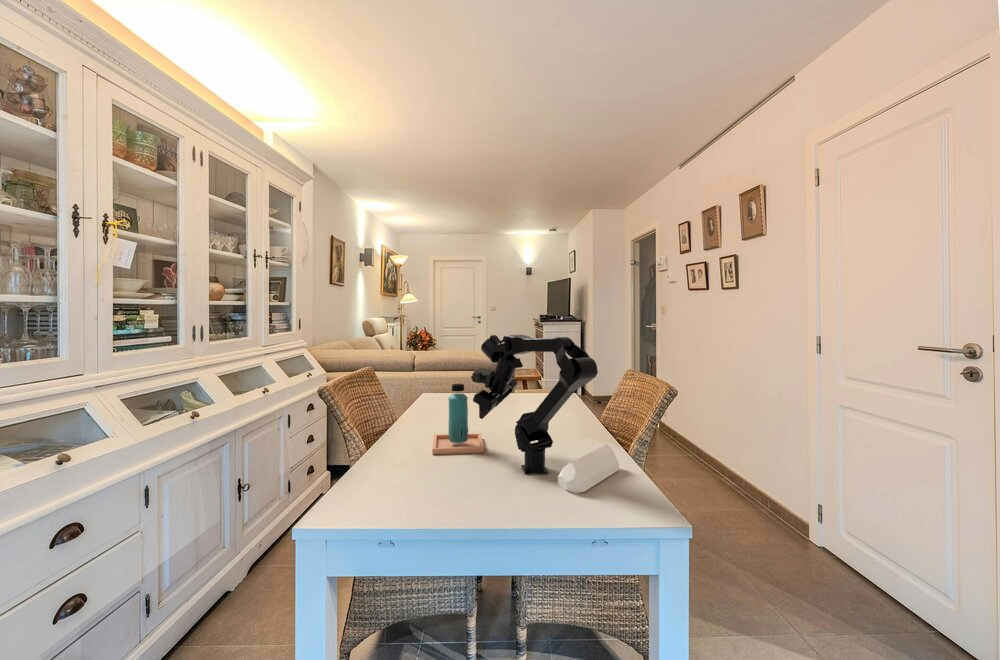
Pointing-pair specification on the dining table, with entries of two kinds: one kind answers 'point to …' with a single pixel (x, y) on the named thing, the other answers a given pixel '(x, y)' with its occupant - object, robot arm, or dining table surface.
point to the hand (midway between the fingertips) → (487, 411)
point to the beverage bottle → (458, 415)
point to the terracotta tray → (457, 445)
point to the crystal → (588, 470)
